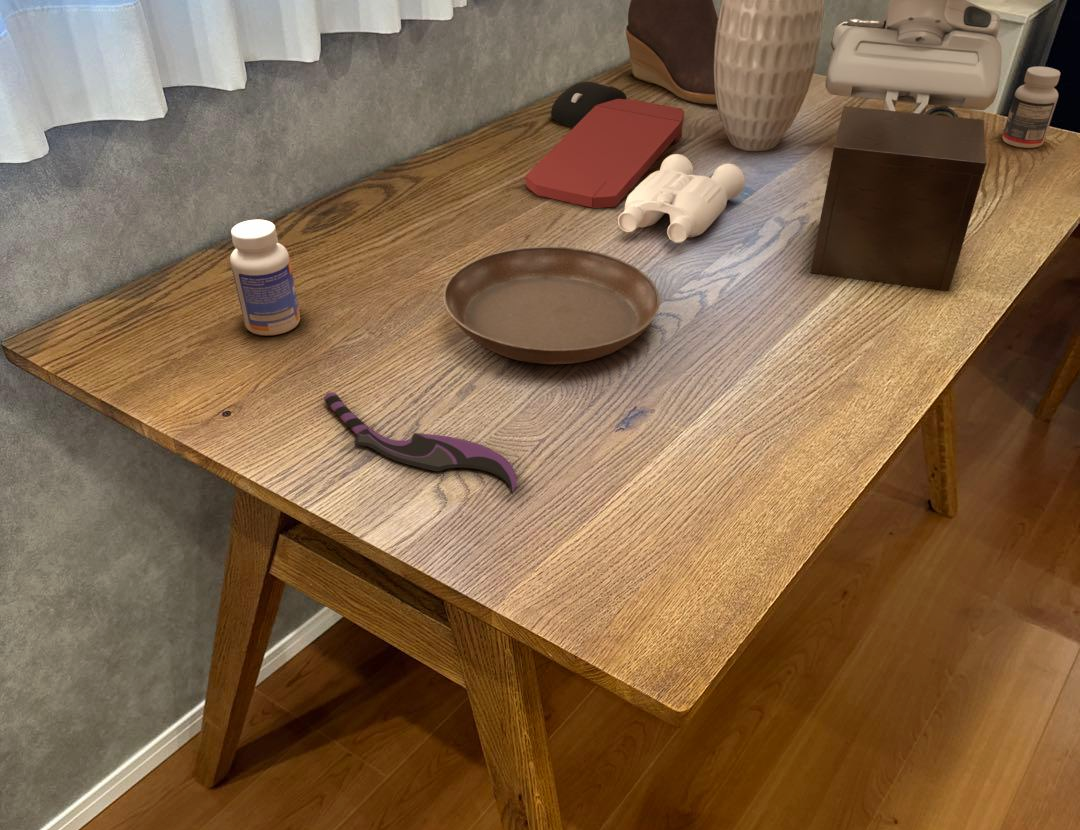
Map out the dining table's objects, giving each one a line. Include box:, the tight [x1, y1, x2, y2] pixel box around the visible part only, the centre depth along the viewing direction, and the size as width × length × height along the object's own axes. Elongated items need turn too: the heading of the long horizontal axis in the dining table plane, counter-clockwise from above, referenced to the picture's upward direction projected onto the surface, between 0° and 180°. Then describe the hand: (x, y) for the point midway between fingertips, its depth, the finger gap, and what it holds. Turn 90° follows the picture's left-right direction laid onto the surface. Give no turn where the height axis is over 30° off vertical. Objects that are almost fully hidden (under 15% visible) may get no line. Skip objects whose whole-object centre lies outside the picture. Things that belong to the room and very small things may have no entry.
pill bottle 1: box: [229, 219, 301, 336], centre depth 96 cm, size 5×5×10 cm
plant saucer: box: [442, 246, 661, 365], centre depth 98 cm, size 21×21×3 cm
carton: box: [524, 98, 685, 209], centre depth 128 cm, size 12×5×25 cm
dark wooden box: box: [809, 105, 987, 292], centre depth 105 cm, size 14×12×13 cm
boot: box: [625, 0, 718, 105], centre depth 143 cm, size 9×24×20 cm, turn 47°
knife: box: [323, 391, 518, 493], centre depth 84 cm, size 21×1×5 cm
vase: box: [714, 0, 825, 152], centre depth 125 cm, size 13×13×28 cm
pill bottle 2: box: [1001, 66, 1061, 149], centre depth 132 cm, size 5×5×9 cm
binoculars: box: [617, 153, 746, 244], centre depth 115 cm, size 10×16×5 cm, turn 153°
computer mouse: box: [550, 81, 628, 128], centre depth 141 cm, size 8×12×4 cm, turn 139°
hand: (899, 133), depth 125 cm, fingers closed
